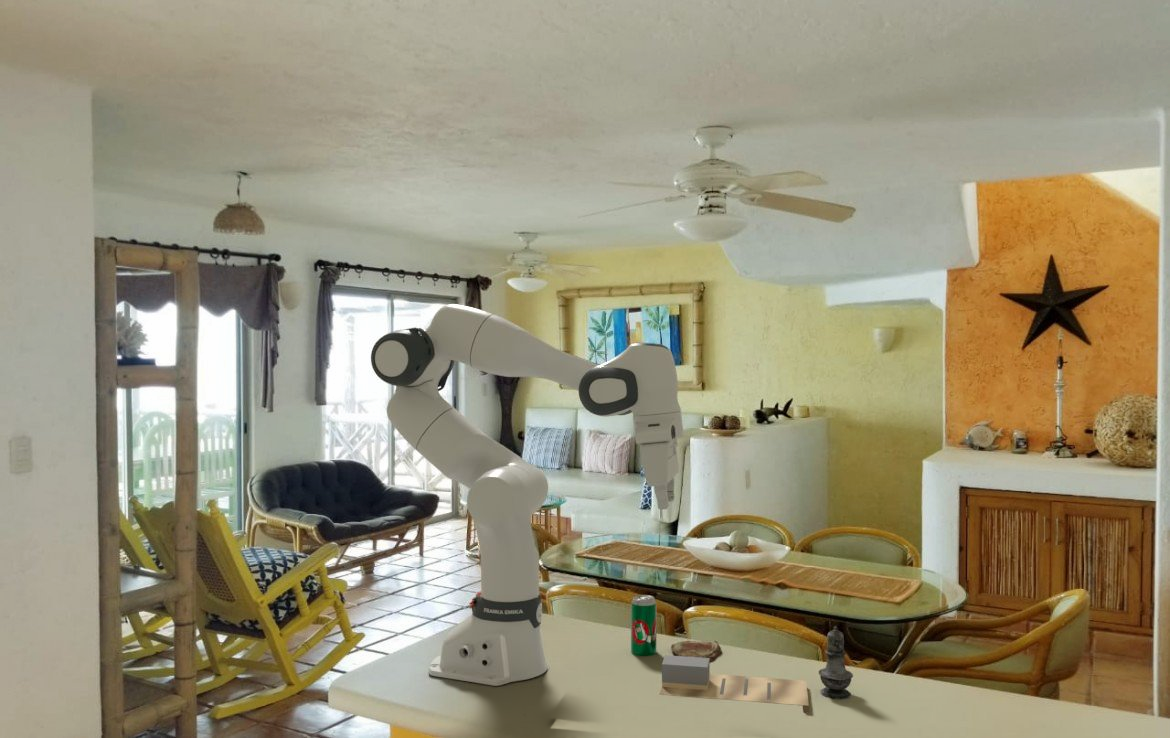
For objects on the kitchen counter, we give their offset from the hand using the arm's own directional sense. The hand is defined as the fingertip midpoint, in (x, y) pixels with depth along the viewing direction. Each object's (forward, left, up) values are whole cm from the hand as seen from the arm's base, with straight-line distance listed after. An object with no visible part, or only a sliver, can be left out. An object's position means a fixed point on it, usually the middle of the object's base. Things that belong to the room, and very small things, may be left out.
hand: (666, 504), depth 157 cm
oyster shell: (+4, +16, -33) cm, 37 cm away
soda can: (-6, +13, -33) cm, 36 cm away
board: (+12, -3, -33) cm, 35 cm away
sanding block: (+4, -3, -31) cm, 32 cm away
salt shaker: (+30, +1, -33) cm, 44 cm away
